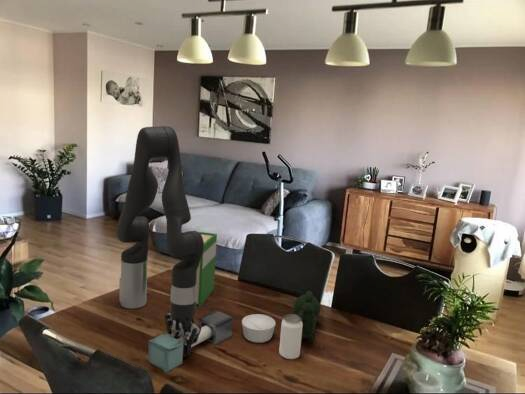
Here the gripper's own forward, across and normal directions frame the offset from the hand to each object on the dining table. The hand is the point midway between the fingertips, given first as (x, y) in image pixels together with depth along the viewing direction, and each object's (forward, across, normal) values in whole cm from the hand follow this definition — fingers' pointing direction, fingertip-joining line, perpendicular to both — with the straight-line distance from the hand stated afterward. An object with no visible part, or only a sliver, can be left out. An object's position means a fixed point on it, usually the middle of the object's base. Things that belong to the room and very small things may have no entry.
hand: (181, 351), depth 126 cm
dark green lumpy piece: (+1, +20, +39) cm, 44 cm away
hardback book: (+1, -26, +33) cm, 42 cm away
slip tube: (+1, 0, +5) cm, 5 cm away
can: (+1, +24, +23) cm, 33 cm away
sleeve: (+1, 0, +15) cm, 15 cm away
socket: (+1, 0, -6) cm, 6 cm away
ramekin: (+1, +10, +25) cm, 27 cm away
